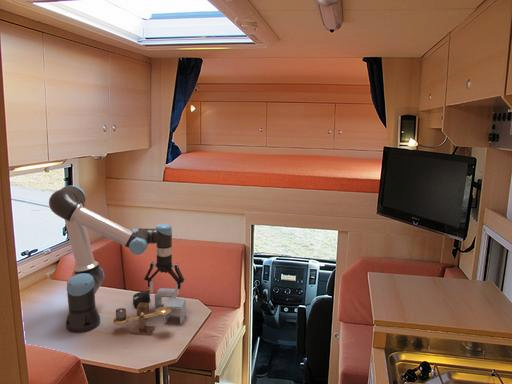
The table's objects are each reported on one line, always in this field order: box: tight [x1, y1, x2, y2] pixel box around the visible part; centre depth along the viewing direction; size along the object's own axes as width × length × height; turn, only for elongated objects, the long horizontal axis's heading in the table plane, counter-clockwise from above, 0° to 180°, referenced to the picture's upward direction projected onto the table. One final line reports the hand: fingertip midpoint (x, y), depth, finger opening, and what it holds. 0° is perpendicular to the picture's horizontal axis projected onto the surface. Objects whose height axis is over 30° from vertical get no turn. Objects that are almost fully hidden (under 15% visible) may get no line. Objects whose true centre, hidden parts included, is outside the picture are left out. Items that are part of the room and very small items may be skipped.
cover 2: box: [163, 297, 187, 325], centre depth 197 cm, size 9×9×9 cm
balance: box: [113, 305, 172, 336], centre depth 186 cm, size 27×7×11 cm, turn 86°
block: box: [136, 302, 150, 321], centre depth 198 cm, size 4×4×7 cm
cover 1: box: [154, 287, 177, 314], centre depth 208 cm, size 9×9×9 cm
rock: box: [132, 290, 151, 308], centre depth 213 cm, size 9×10×6 cm
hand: (164, 293), depth 207 cm, fingers open, 13 cm apart
